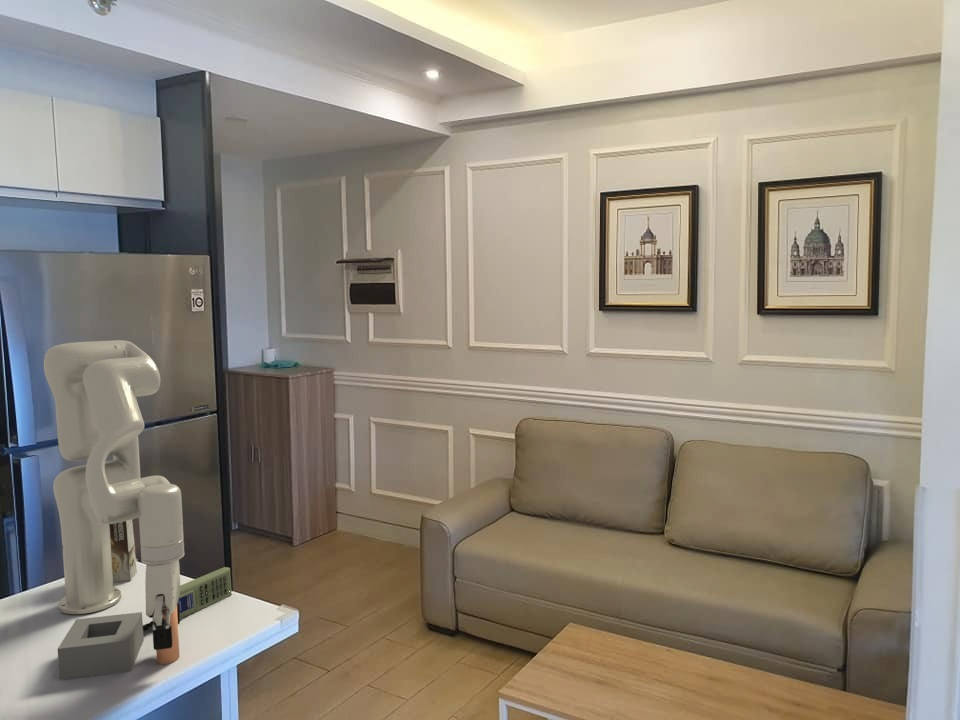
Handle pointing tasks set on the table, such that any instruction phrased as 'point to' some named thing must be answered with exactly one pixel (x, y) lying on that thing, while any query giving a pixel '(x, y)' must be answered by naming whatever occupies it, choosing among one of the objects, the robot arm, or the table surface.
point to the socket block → (100, 646)
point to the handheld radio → (202, 593)
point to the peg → (172, 653)
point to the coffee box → (123, 551)
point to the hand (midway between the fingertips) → (167, 636)
